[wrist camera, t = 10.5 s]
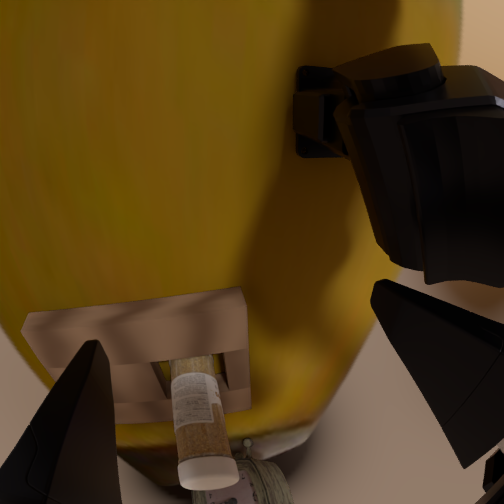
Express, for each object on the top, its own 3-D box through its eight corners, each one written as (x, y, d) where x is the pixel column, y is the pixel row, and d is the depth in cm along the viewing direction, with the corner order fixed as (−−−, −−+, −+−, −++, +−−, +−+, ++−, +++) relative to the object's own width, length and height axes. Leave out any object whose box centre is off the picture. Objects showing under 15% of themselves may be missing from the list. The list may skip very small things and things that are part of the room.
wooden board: (240, 286, 24) (246, 306, 22) (246, 392, 33) (251, 408, 31) (28, 312, 21) (20, 331, 19) (93, 407, 29) (91, 424, 27)
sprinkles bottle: (213, 369, 29) (239, 487, 18) (170, 372, 28) (183, 493, 17) (213, 341, 27) (242, 474, 16) (165, 344, 26) (176, 481, 15)
